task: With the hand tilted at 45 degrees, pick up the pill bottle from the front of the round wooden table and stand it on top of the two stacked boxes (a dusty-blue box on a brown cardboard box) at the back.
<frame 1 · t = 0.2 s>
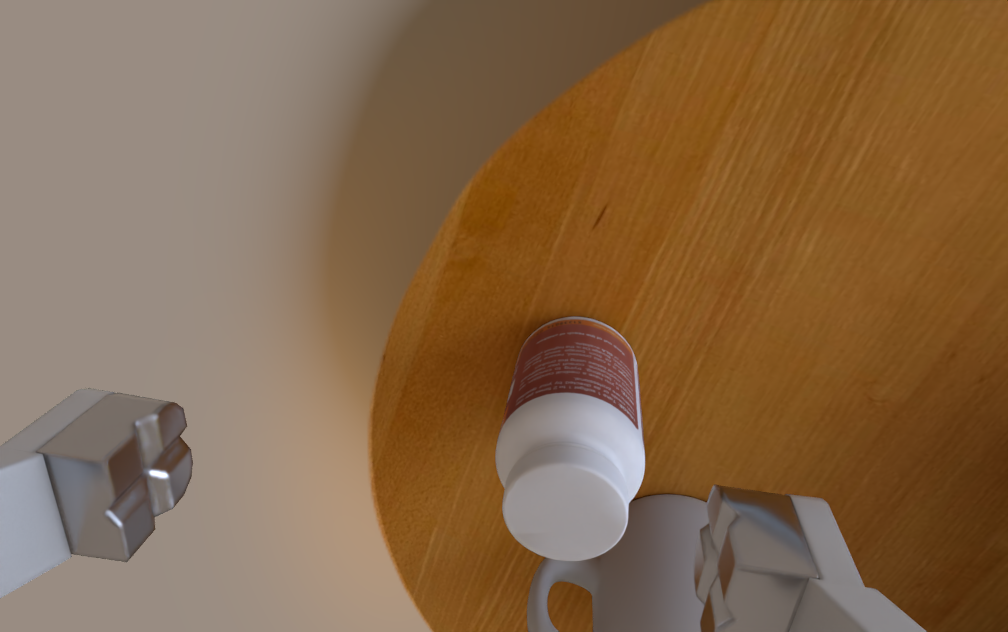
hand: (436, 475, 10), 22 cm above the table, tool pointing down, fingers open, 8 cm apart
pill bottle: (577, 364, 35), on the table
mug: (639, 539, 39), on the table
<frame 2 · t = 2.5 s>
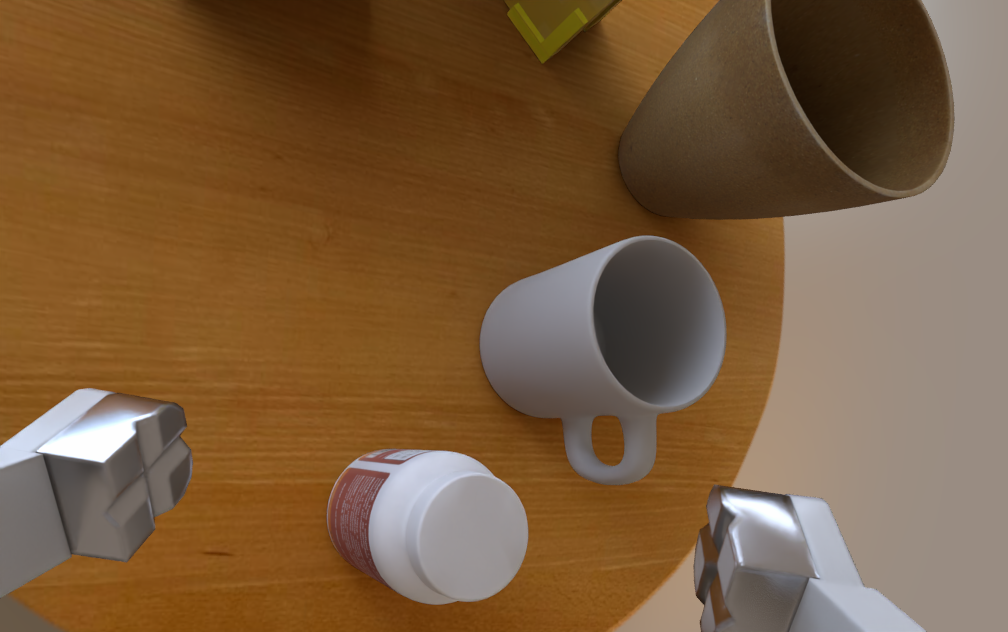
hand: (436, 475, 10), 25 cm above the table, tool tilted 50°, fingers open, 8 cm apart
pill bottle: (382, 507, 35), on the table
plant pot: (658, 165, 48), on the table
mug: (540, 376, 41), on the table
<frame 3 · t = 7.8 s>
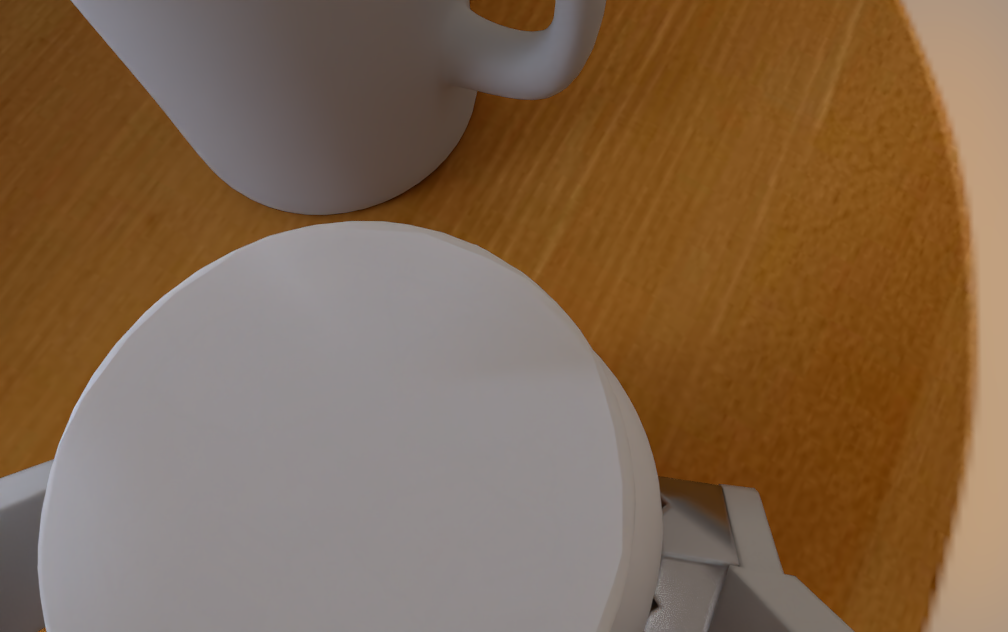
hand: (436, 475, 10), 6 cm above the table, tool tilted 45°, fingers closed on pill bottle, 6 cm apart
pill bottle: (471, 530, 16), on the table, touching gripper
mug: (390, 111, 20), on the table
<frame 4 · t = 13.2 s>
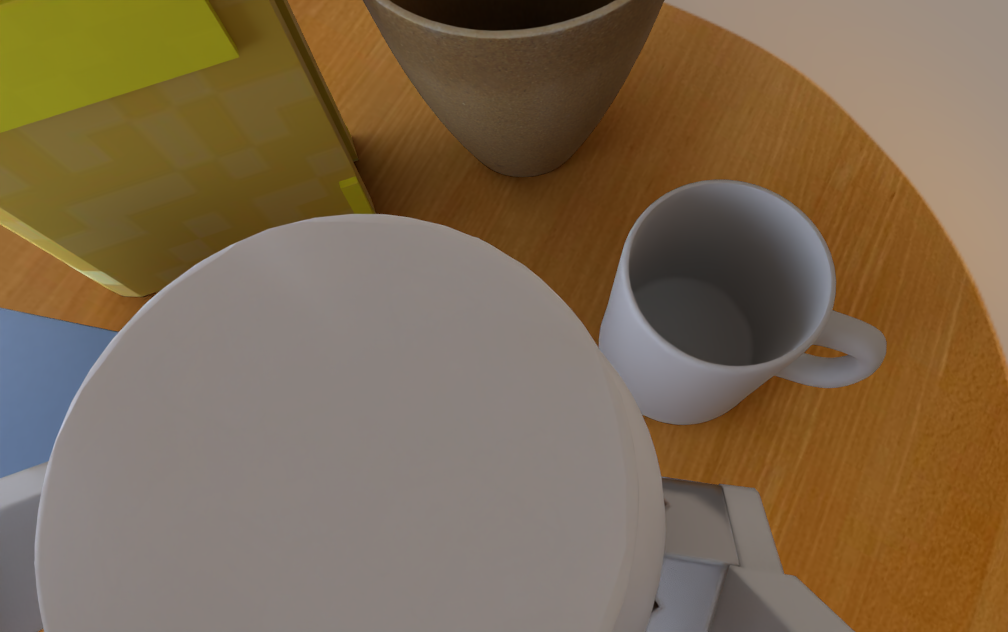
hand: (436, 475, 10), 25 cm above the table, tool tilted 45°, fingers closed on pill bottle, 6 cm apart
box stack: (138, 467, 36), on the table
pill bottle: (471, 528, 16), point 19 cm above the table, touching gripper
plant pot: (522, 126, 42), on the table
mug: (706, 360, 37), on the table
book: (234, 224, 41), on the table
when the fingers open (17 cm above the table, at t = 18.8 s): pill bottle stays where it is, resting on box stack.
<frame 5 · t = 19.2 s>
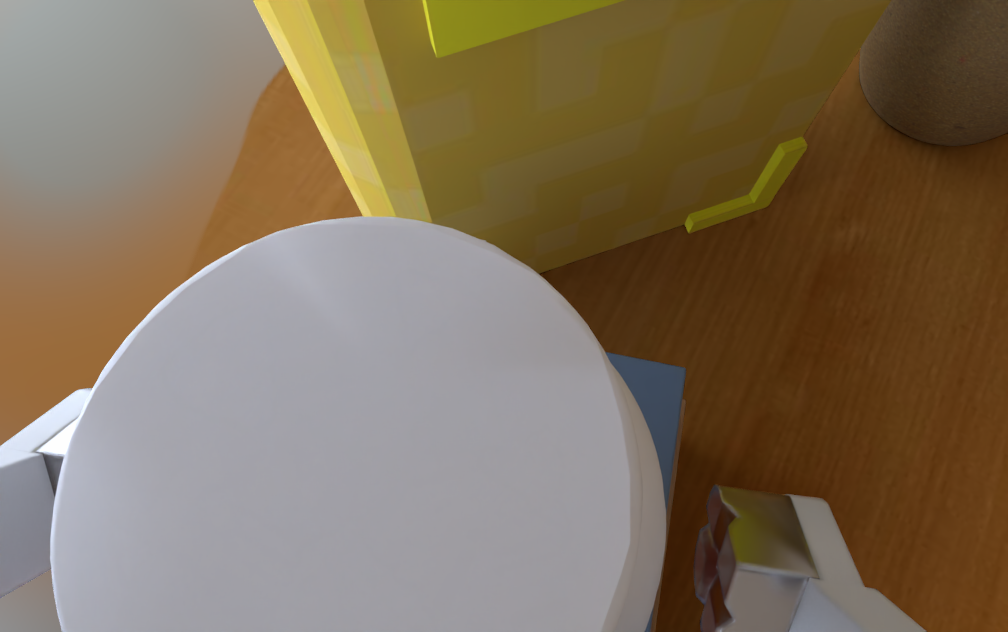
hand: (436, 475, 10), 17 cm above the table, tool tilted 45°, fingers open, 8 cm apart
box stack: (492, 539, 26), on the table
pill bottle: (471, 528, 16), point 11 cm above the table, touching box stack
plant pot: (931, 81, 32), on the table
book: (564, 205, 31), on the table
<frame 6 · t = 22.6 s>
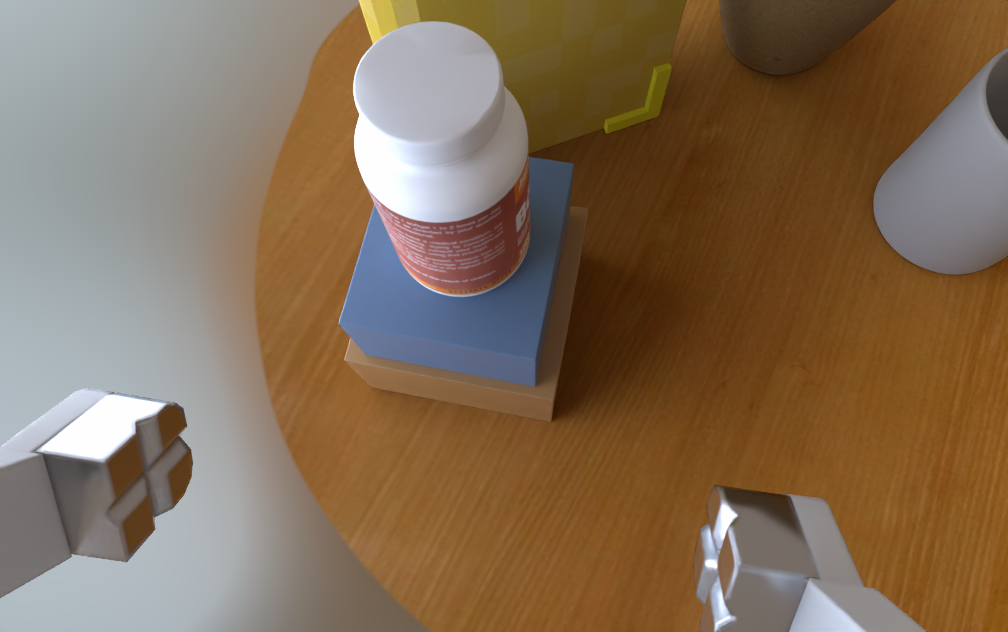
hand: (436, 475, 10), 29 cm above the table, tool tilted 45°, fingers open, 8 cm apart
box stack: (479, 318, 41), on the table
pill bottle: (464, 240, 31), point 11 cm above the table, touching box stack
plant pot: (772, 33, 48), on the table
mug: (967, 223, 42), on the table
book: (525, 118, 46), on the table
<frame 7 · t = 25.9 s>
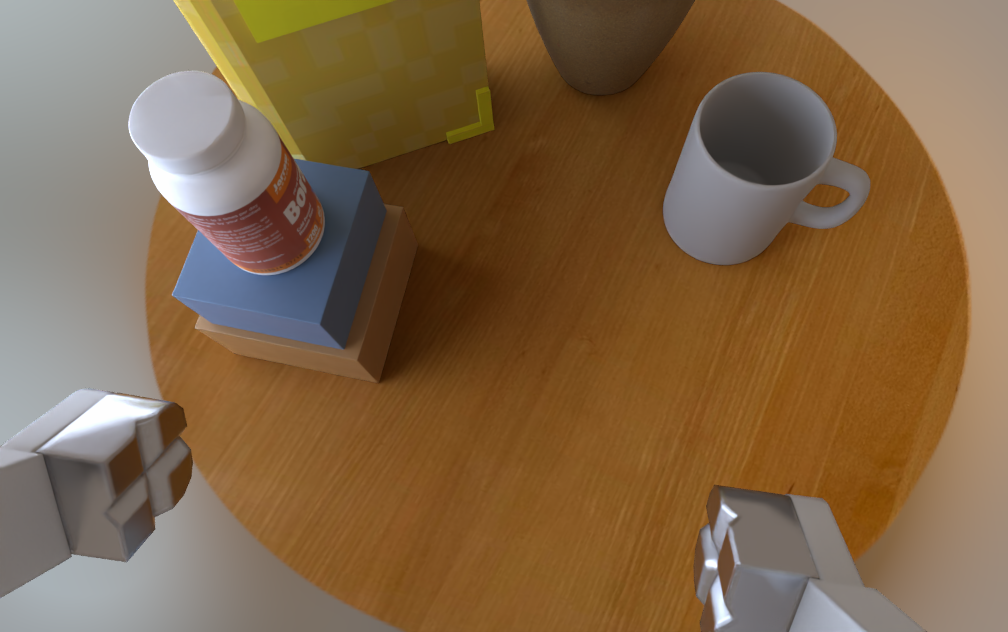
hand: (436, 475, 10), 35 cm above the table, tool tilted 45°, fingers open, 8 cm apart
box stack: (328, 298, 50), on the table
pill bottle: (276, 231, 40), point 11 cm above the table, touching box stack
plant pot: (598, 59, 56), on the table
mug: (741, 222, 50), on the table
book: (383, 130, 55), on the table
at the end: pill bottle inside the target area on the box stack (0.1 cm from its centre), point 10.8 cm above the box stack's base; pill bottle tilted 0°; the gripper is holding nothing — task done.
